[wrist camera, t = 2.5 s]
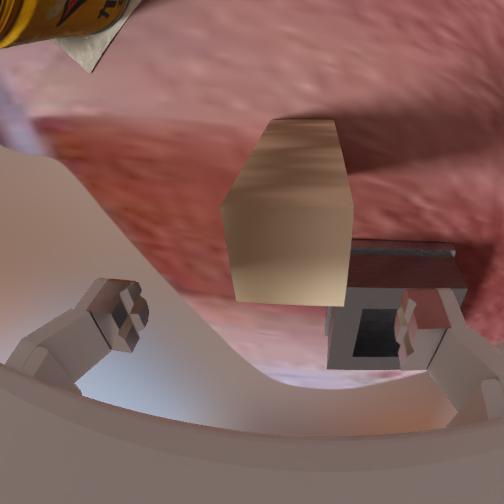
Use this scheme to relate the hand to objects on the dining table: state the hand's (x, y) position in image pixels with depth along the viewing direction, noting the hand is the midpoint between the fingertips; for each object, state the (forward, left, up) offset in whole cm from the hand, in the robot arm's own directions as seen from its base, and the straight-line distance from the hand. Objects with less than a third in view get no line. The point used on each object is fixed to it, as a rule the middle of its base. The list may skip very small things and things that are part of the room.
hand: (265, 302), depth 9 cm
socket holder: (-8, +12, -14) cm, 20 cm away
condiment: (+13, -13, -14) cm, 23 cm away
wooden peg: (-1, 0, -14) cm, 14 cm away
